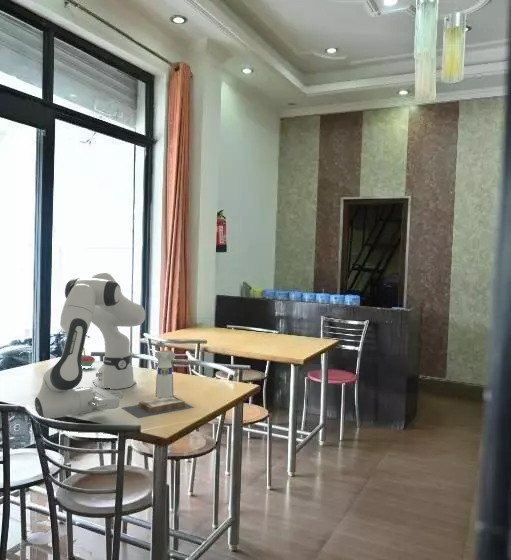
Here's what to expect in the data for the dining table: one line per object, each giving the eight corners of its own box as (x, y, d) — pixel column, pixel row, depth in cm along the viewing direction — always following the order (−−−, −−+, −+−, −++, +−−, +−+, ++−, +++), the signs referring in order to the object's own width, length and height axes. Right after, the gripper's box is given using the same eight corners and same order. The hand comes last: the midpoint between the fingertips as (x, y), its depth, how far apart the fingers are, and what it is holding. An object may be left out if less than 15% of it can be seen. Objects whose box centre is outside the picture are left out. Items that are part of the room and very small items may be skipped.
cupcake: (75, 369, 261) (75, 347, 261) (83, 366, 269) (83, 345, 269) (90, 370, 260) (90, 348, 259) (97, 367, 268) (97, 345, 268)
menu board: (139, 401, 193) (172, 395, 202) (139, 407, 193) (172, 401, 202) (150, 407, 185) (184, 401, 194) (150, 413, 185) (184, 406, 194)
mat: (120, 408, 191) (120, 407, 191) (174, 399, 206) (174, 398, 206) (138, 419, 179) (138, 418, 179) (194, 408, 194) (194, 407, 194)
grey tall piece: (175, 398, 208) (175, 340, 207) (154, 399, 206) (155, 340, 206) (175, 393, 216) (175, 337, 215) (155, 393, 214) (156, 337, 214)
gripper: (94, 398, 166) (132, 392, 174) (75, 386, 182) (111, 381, 190) (94, 416, 166) (132, 409, 174) (75, 403, 182) (110, 397, 191)
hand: (121, 394), depth 183 cm, fingers closed
